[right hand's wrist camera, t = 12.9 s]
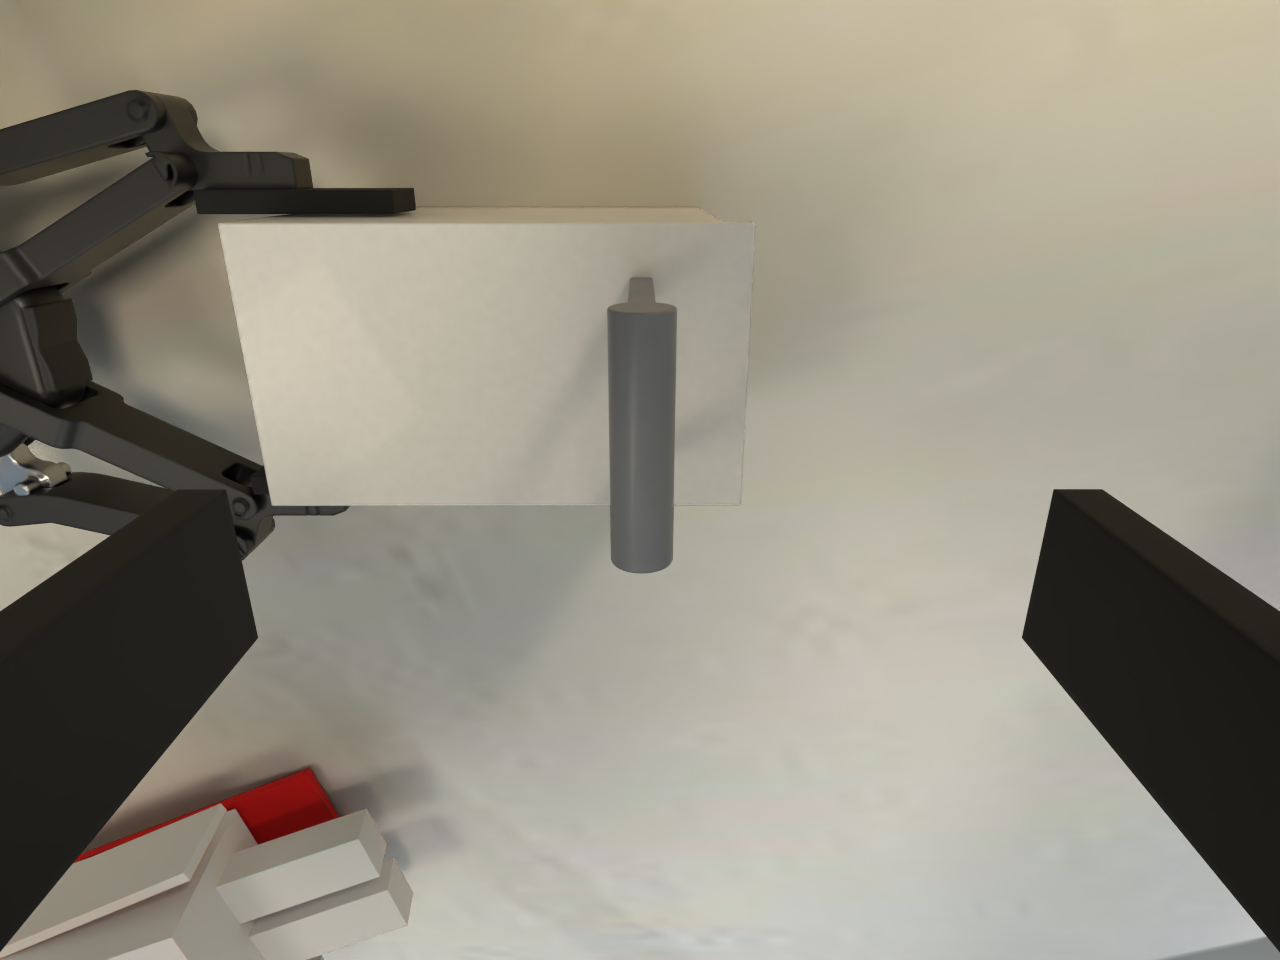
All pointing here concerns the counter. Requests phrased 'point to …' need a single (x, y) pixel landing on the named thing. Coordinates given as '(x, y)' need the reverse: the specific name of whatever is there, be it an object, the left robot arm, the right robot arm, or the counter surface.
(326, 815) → the toy
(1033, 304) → the counter surface
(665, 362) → the lid
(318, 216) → the chest
